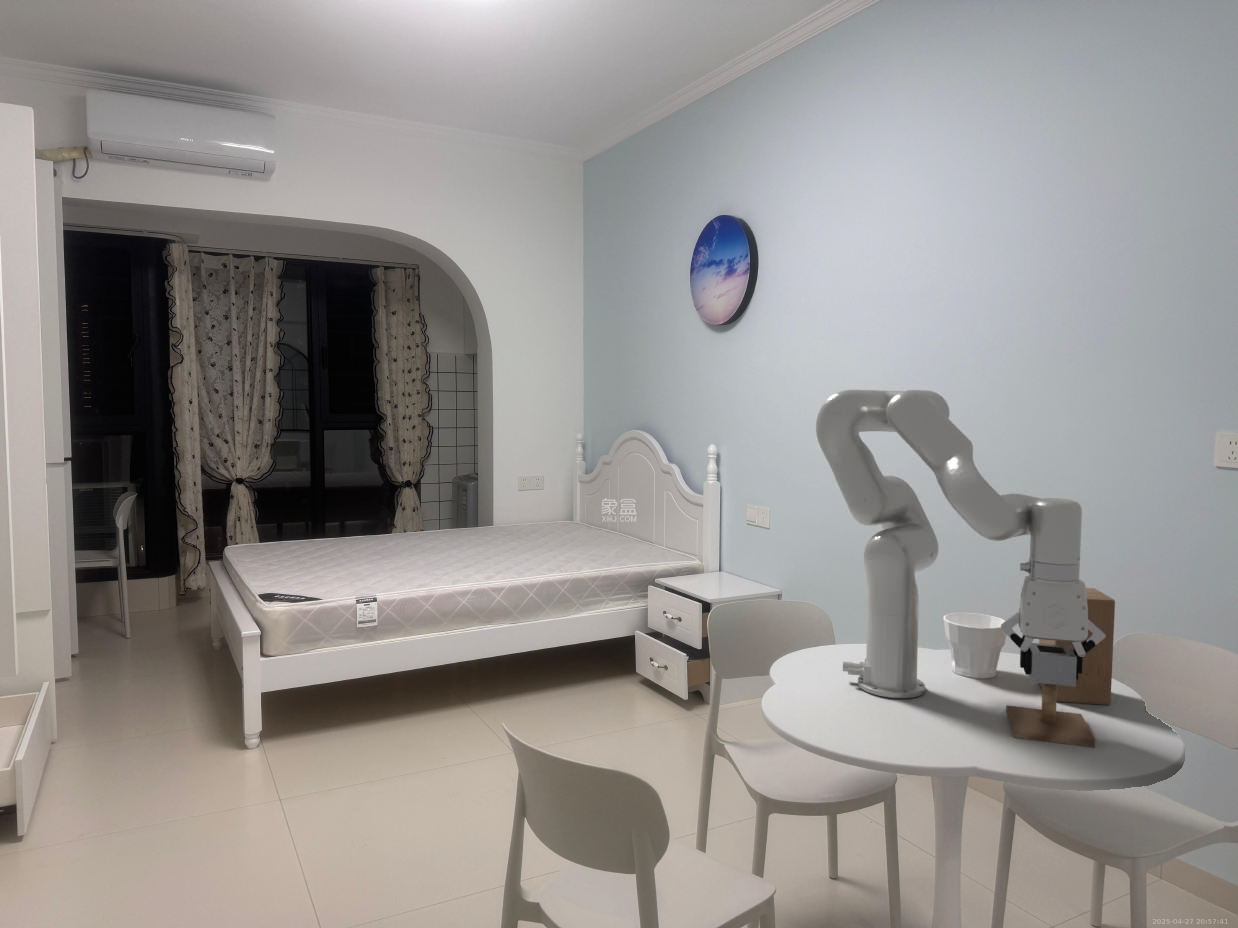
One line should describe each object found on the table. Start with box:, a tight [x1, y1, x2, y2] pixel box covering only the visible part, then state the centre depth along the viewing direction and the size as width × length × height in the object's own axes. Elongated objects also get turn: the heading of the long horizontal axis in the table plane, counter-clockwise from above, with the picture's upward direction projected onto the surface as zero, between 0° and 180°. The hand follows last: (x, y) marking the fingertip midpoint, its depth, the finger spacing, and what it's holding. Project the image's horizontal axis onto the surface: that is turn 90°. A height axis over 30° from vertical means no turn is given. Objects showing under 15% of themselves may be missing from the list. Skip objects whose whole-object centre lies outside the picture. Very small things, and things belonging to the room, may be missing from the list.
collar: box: [1028, 642, 1077, 687], centre depth 139 cm, size 7×7×5 cm
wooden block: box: [1037, 587, 1116, 706], centre depth 155 cm, size 10×10×20 cm
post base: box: [1005, 683, 1096, 748], centre depth 139 cm, size 12×12×8 cm
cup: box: [943, 612, 1007, 680], centre depth 169 cm, size 12×12×11 cm
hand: (1050, 673), depth 139 cm, fingers closed on collar, 6 cm apart
